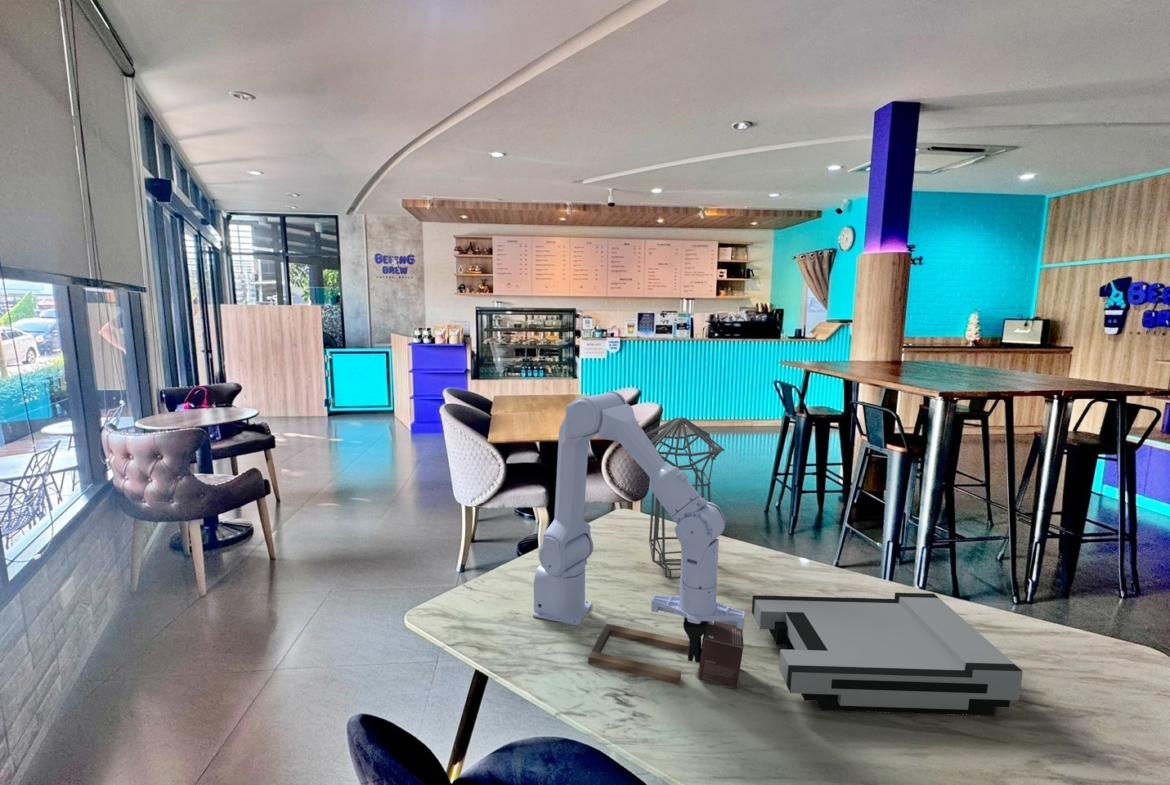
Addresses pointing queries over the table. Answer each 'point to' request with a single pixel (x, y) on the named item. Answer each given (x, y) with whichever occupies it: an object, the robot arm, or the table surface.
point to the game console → (887, 655)
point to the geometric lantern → (715, 451)
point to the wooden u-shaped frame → (634, 666)
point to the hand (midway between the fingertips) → (695, 658)
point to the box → (721, 654)
